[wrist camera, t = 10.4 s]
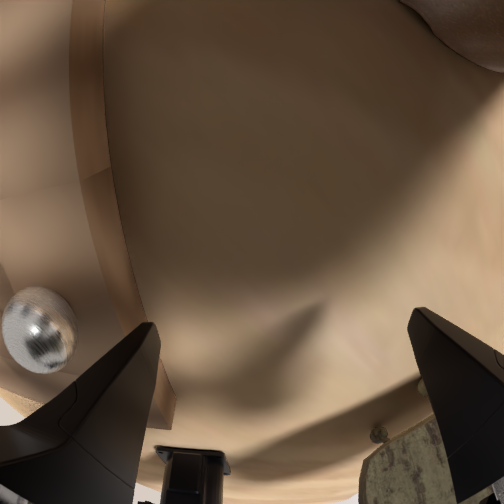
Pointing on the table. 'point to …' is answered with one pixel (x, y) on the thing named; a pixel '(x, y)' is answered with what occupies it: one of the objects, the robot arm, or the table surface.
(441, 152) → the table surface
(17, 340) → the ball
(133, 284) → the wooden cutting board
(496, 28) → the plant pot
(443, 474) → the tabletop clock
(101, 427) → the robot arm
